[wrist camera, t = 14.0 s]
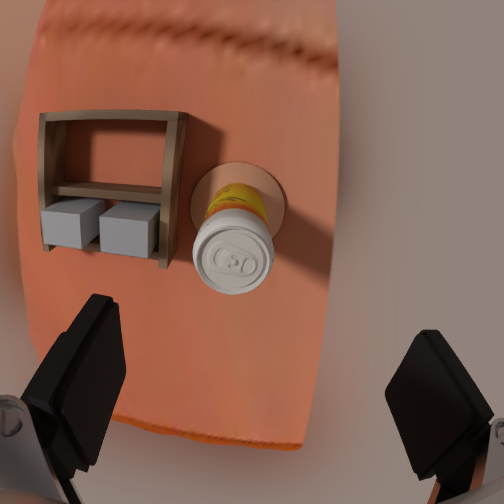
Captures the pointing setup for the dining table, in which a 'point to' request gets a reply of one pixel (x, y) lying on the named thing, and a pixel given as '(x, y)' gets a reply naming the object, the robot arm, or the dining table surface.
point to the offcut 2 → (130, 228)
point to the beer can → (234, 241)
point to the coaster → (239, 174)
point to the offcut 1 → (72, 221)
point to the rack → (56, 187)
